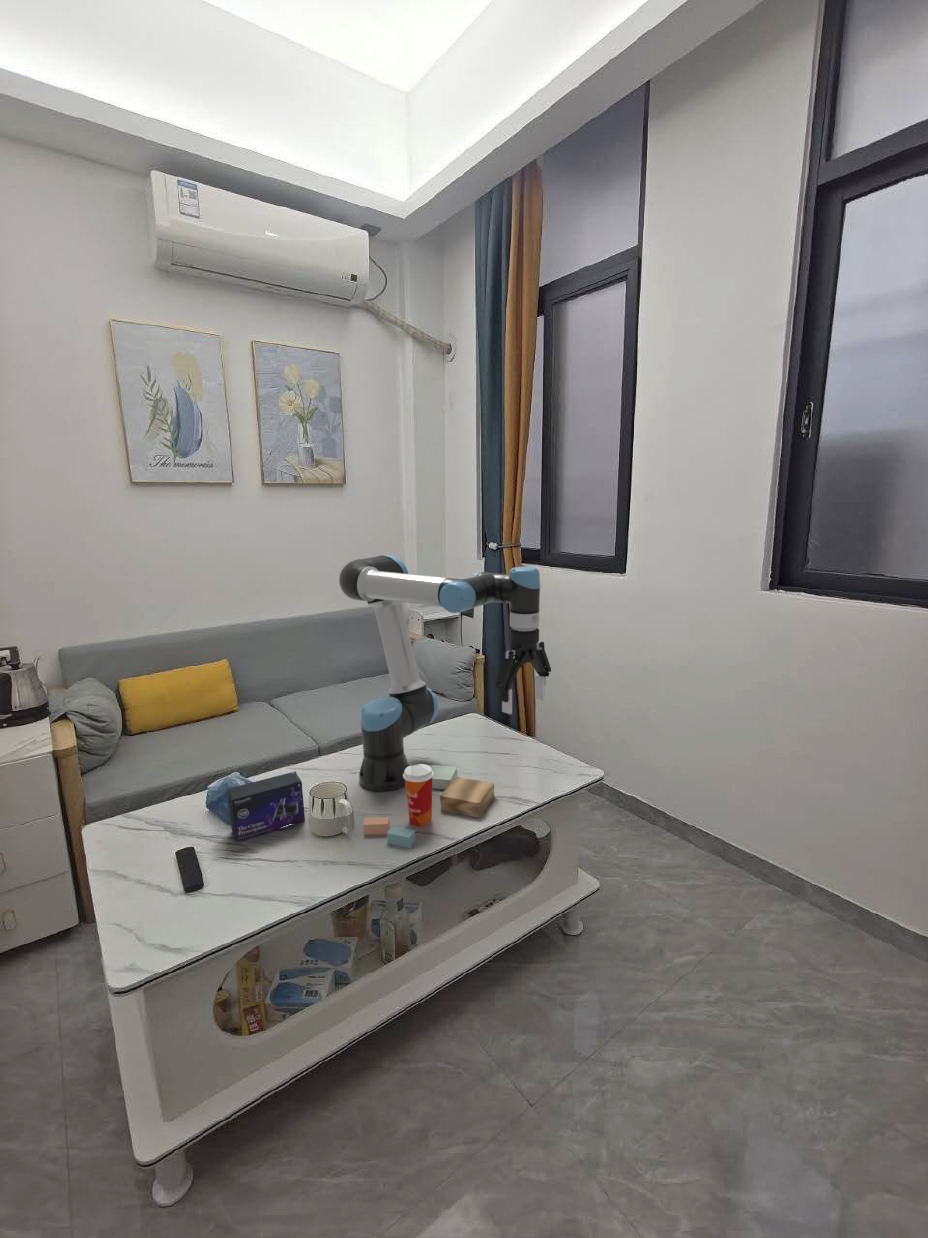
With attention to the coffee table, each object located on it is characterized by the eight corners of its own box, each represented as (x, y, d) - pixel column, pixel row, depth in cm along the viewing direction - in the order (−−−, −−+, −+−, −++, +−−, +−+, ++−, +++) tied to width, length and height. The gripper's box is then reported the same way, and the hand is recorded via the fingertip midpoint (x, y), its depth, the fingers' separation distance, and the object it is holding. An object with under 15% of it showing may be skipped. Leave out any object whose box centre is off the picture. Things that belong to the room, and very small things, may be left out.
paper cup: (402, 816, 149) (399, 766, 146) (430, 809, 152) (428, 760, 149) (410, 832, 142) (407, 779, 139) (439, 825, 145) (437, 773, 142)
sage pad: (423, 787, 164) (422, 777, 163) (431, 774, 171) (430, 764, 171) (450, 790, 162) (450, 780, 161) (457, 776, 169) (457, 767, 169)
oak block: (440, 809, 152) (440, 795, 151) (457, 789, 162) (457, 776, 161) (479, 817, 148) (478, 803, 147) (494, 796, 157) (494, 783, 157)
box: (236, 844, 140) (230, 799, 137) (231, 831, 145) (226, 787, 143) (306, 822, 148) (301, 780, 145) (299, 811, 154) (295, 769, 151)
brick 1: (364, 835, 142) (363, 824, 141) (366, 828, 145) (365, 818, 144) (388, 834, 142) (387, 823, 141) (390, 828, 145) (389, 817, 144)
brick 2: (387, 844, 138) (386, 833, 137) (393, 837, 141) (392, 826, 140) (409, 849, 136) (409, 837, 135) (415, 841, 138) (414, 830, 138)
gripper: (503, 639, 137) (503, 723, 142) (565, 621, 154) (563, 696, 159) (480, 634, 142) (481, 715, 147) (542, 617, 159) (541, 690, 164)
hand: (523, 705), depth 153 cm, fingers open, 13 cm apart
